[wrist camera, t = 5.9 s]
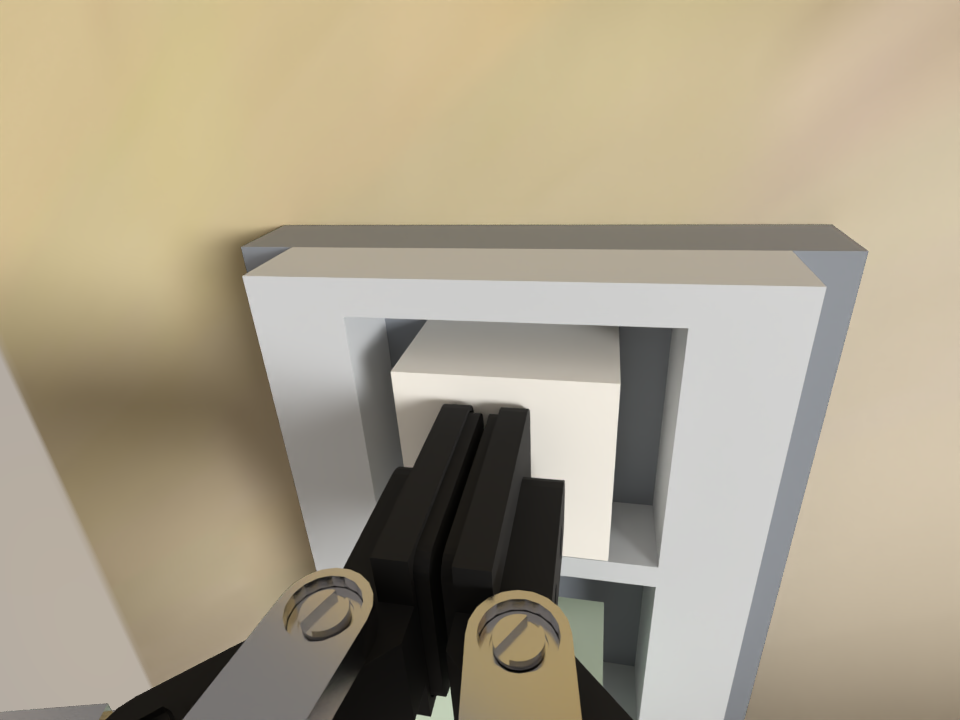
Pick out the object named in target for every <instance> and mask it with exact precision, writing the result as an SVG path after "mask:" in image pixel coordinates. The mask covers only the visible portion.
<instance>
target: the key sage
mask: <svg viewBox="0 0 960 720" xmlns="http://www.w3.org/2000/svg"><path fill="white" fill-rule="evenodd" d="M558 606H559V607H560V609H561V610H562V612H563V613H564V614H565V616H566V617H567V619H568V621H569V624H570V628H571V631H572V636H573V644H574V653H575V657H576V658H577V659H578V660H579V661H580V662H581V663H582V664H583V665H584V666H585V668H586V669H587V670H588V671H589V672H590V673H591V674H592V675H593V676H594V677H595V678H596V680H597V681H598V682H599V683H600V684H601V685H602V686H603V631H604V602H597V601H589V600H581V599H574V598H566V597H558ZM415 720H454V715H453V707H452V699H451V690H450V689H449V692H448V694H447V696H446V697H442V696H436V700H435V704H434V708H433V711H432V715H431V717H428V716H423V715H417V716H416V719H415Z"/></svg>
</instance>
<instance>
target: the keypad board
mask: <svg viewBox="0 0 960 720" xmlns="http://www.w3.org/2000/svg"><path fill="white" fill-rule="evenodd" d="M241 250H242V254H243V258H244V262H245V266H246V270H247V273H246V274H245V275H243V276H242V277H243V281H244V285H245V289H246V293H247V297H248V301H249V305H250V309H251V313H252V317H253V321H254V325H255V329H256V333H257V337H258V341H259V344H260V348H261V352H262V356H263V360H264V364H265V368H266V372H267V376H268V380H269V384H270V388H271V392H272V396H273V400H274V404H275V408H276V412H277V416H278V420H279V424H280V428H281V432H282V436H283V440H284V444H285V448H286V452H287V456H288V460H289V464H290V467H291V471H292V475H293V479H294V483H295V487H296V491H297V495H298V499H299V503H300V507H301V511H302V515H303V519H304V523H305V527H306V531H307V535H308V539H309V543H310V547H311V551H312V555H313V559H314V563H315V567H316V571H319V570H323V569H330V568H343V567H344V566H345V564H346V562H347V560H348V558H349V556H350V554H351V552H352V550H353V548H354V546H355V544H356V542H357V541H358V539H359V537H360V535H361V533H362V531H363V529H364V527H365V525H366V523H367V521H368V519H369V517H370V515H371V514H372V512H373V510H374V508H375V506H376V504H377V502H378V500H379V498H380V496H381V494H382V492H383V490H384V489H385V487H386V485H387V483H388V481H389V479H390V477H391V475H392V473H393V472H394V470H395V469H396V468H397V467H399V466H400V467H404V465H403V457H402V450H401V443H400V436H399V429H398V422H397V414H396V407H395V400H394V393H393V386H392V378H391V370H392V369H393V367H394V366H395V365H396V363H397V362H398V360H399V359H400V358H401V356H402V355H403V354H404V352H405V351H406V349H407V348H408V347H409V345H410V344H411V342H412V341H413V340H414V338H415V337H416V335H417V334H418V333H419V331H420V330H421V328H422V327H423V326H424V324H425V323H426V321H427V320H453V321H483V322H512V323H542V324H572V325H602V326H619V346H620V382H621V385H620V399H619V413H618V428H617V442H616V456H615V471H614V485H613V499H612V513H611V528H610V542H609V556H608V561H602V560H594V559H585V558H576V557H568V556H562V563H561V574H560V585H559V597H566V598H574V599H581V600H589V601H597V602H604V631H603V687H604V688H605V689H606V690H607V692H608V693H609V694H610V695H611V696H612V697H613V698H614V699H615V700H616V701H617V703H618V704H619V705H620V706H621V707H622V708H623V709H624V710H625V711H626V712H627V713H628V715H629V716H630V717H631V718H632V719H633V720H744V719H745V715H746V711H747V708H748V704H749V700H750V696H751V693H752V689H753V685H754V681H755V677H756V674H757V670H758V666H759V662H760V659H761V655H762V651H763V647H764V644H765V640H766V636H767V632H768V628H769V625H770V621H771V617H772V613H773V610H774V606H775V602H776V598H777V595H778V591H779V587H780V583H781V579H782V576H783V572H784V568H785V564H786V561H787V557H788V553H789V549H790V545H791V542H792V538H793V534H794V530H795V527H796V523H797V519H798V515H799V512H800V508H801V504H802V500H803V496H804V493H805V489H806V485H807V481H808V478H809V474H810V470H811V466H812V463H813V459H814V455H815V451H816V447H817V444H818V440H819V436H820V432H821V429H822V425H823V421H824V417H825V413H826V410H827V406H828V402H829V398H830V395H831V391H832V387H833V383H834V380H835V376H836V372H837V368H838V364H839V361H840V357H841V353H842V349H843V346H844V342H845V338H846V334H847V331H848V327H849V323H850V319H851V315H852V312H853V308H854V304H855V300H856V297H857V293H858V289H859V285H860V281H861V278H862V274H863V270H864V266H865V263H866V259H867V255H868V251H867V250H866V249H865V248H863V247H862V246H861V245H859V244H858V243H856V242H855V241H854V240H852V239H851V238H850V237H848V236H847V235H846V234H844V233H843V232H841V231H840V230H839V229H837V228H836V227H835V226H833V225H284V226H282V227H280V228H278V229H276V230H274V231H272V232H270V233H268V234H266V235H264V236H262V237H260V238H258V239H256V240H254V241H252V242H250V243H248V244H246V245H244V246H242V247H241Z"/></svg>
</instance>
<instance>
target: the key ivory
mask: <svg viewBox="0 0 960 720" xmlns="http://www.w3.org/2000/svg"><path fill="white" fill-rule="evenodd" d="M391 378H392V386H393V393H394V400H395V407H396V414H397V422H398V429H399V436H400V443H401V450H402V457H403V465H404V467H412V468H413V466H414V464H415V462H416V459H417V457H418V455H419V453H420V451H421V449H422V447H423V445H424V443H425V441H426V438H427V436H428V434H429V432H430V430H431V428H432V426H433V424H434V422H435V420H436V418H437V415H438V413H439V411H440V409H441V407H442V406H443V404H459V405H472V407H473V410H474V413H482V415H483V421H484V428H485V425H486V422H487V419H488V416H489V414H498V413H499V410H500V408H501V407H509V408H525V409H529V410H530V434H531V477H532V478H544V479H556V480H565V510H564V535H563V551H562V556H568V557H576V558H585V559H594V560H602V561H608V556H609V542H610V528H611V513H612V499H613V485H614V471H615V456H616V442H617V428H618V413H619V399H620V385H621V382H620V346H619V326H602V325H572V324H542V323H512V322H483V321H453V320H427V321H426V323H425V324H424V326H423V327H422V328H421V330H420V331H419V333H418V334H417V335H416V337H415V338H414V340H413V341H412V342H411V344H410V345H409V347H408V348H407V349H406V351H405V352H404V354H403V355H402V356H401V358H400V359H399V360H398V362H397V363H396V365H395V366H394V367H393V369H392V370H391Z"/></svg>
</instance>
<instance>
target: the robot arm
mask: <svg viewBox="0 0 960 720" xmlns="http://www.w3.org/2000/svg"><path fill="white" fill-rule="evenodd" d="M564 510H565V480H556V479H544V478H532V477H531V434H530V410H529V409H525V408H509V407H501V408H500V410H499V413H498V414H489V416H488V419H487V422H486V425H485V428H484V421H483V415H482V413H474V410H473V407H472V405H459V404H443V406H442V407H441V409H440V411H439V413H438V415H437V418H436V420H435V422H434V424H433V426H432V428H431V430H430V432H429V434H428V436H427V438H426V441H425V443H424V445H423V447H422V449H421V451H420V453H419V455H418V457H417V459H416V462H415V464H414V466H413V468H412V467H400V466H399V467H397V468H396V469H395V470H394V472H393V473H392V475H391V477H390V479H389V481H388V483H387V485H386V487H385V489H384V490H383V492H382V494H381V496H380V498H379V500H378V502H377V504H376V506H375V508H374V510H373V512H372V514H371V515H370V517H369V519H368V521H367V523H366V525H365V527H364V529H363V531H362V533H361V535H360V537H359V539H358V541H357V542H356V544H355V546H354V548H353V550H352V552H351V554H350V556H349V558H348V560H347V562H346V564H345V566H344V567H343V568H330V569H323V570H319V571H316V572H314V573H311V574H308V575H306V576H304V577H303V578H301V579H300V580H298V581H296V582H295V583H293V584H292V585H291V586H290V587H289V588H288V589H287V590H286V591H285V592H284V593H283V594H282V595H281V596H280V598H279V599H278V600H277V602H276V603H275V604H274V605H273V607H272V608H271V609H270V610H269V612H268V613H267V614H266V615H265V617H264V618H263V619H262V620H261V622H260V623H259V624H258V625H257V627H256V628H255V629H254V630H253V632H252V633H251V634H250V635H249V637H248V638H247V639H246V640H245V641H243V642H241V643H239V644H237V645H235V646H233V647H231V648H230V649H228V650H226V651H224V652H222V653H220V654H218V655H216V656H214V657H212V658H210V659H208V660H206V661H204V662H202V663H200V664H198V665H196V666H195V667H193V668H191V669H189V670H187V671H185V672H183V673H181V674H179V675H177V676H175V677H173V678H171V679H169V680H167V681H165V682H163V683H161V684H159V685H158V686H156V687H154V688H152V689H150V690H148V691H146V692H144V693H142V694H140V695H138V696H136V697H135V698H133V699H132V700H130V701H128V702H127V703H125V704H124V705H122V706H121V707H119V708H118V709H116V710H113V711H112V710H111V708H110V707H109V705H108V704H107V703H106V704H94V705H81V706H69V707H56V708H44V709H31V710H19V711H6V712H0V720H415V719H416V716H417V715H423V716H428V717H431V715H432V711H433V708H434V704H435V700H436V696H442V697H446V696H447V694H448V692H449V689H450V690H451V699H452V707H453V715H454V720H633V719H632V718H631V717H630V716H629V715H628V713H627V712H626V711H625V710H624V709H623V708H622V707H621V706H620V705H619V704H618V703H617V701H616V700H615V699H614V698H613V697H612V696H611V695H610V694H609V693H608V692H607V690H606V689H605V688H604V687H603V686H602V685H601V684H600V683H599V682H598V681H597V680H596V678H595V677H594V676H593V675H592V674H591V673H590V672H589V671H588V670H587V669H586V668H585V666H584V665H583V664H582V663H581V662H580V661H579V660H578V659H577V658H576V657H575V653H574V644H573V636H572V631H571V628H570V624H569V621H568V619H567V617H566V616H565V614H564V613H563V612H562V610H561V609H560V607H559V606H558V597H559V585H560V574H561V563H562V551H563V535H564Z"/></svg>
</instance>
